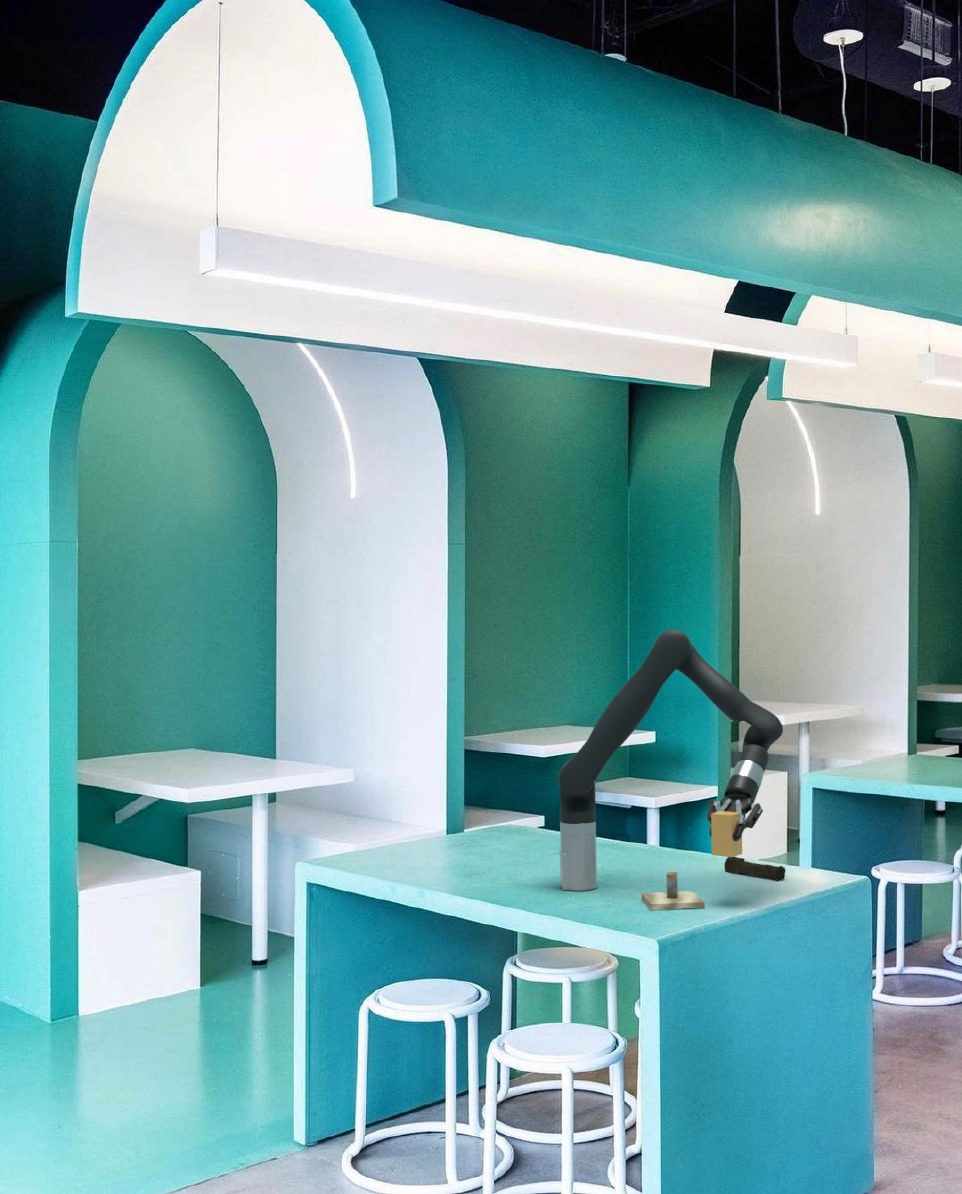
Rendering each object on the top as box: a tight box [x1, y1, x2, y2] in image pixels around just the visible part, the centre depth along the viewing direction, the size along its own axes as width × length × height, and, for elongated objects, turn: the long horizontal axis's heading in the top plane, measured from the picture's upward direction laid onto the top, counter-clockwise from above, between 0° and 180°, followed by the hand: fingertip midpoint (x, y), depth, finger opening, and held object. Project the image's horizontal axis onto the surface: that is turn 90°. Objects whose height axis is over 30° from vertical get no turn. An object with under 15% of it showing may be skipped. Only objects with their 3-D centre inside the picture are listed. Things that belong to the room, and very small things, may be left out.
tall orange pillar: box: [710, 811, 743, 858], centre depth 335 cm, size 5×5×10 cm
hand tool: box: [723, 856, 786, 882], centre depth 370 cm, size 19×4×5 cm, turn 39°
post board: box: [641, 871, 706, 911], centre depth 338 cm, size 13×13×8 cm
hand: (723, 838), depth 333 cm, fingers closed on tall orange pillar, 5 cm apart
